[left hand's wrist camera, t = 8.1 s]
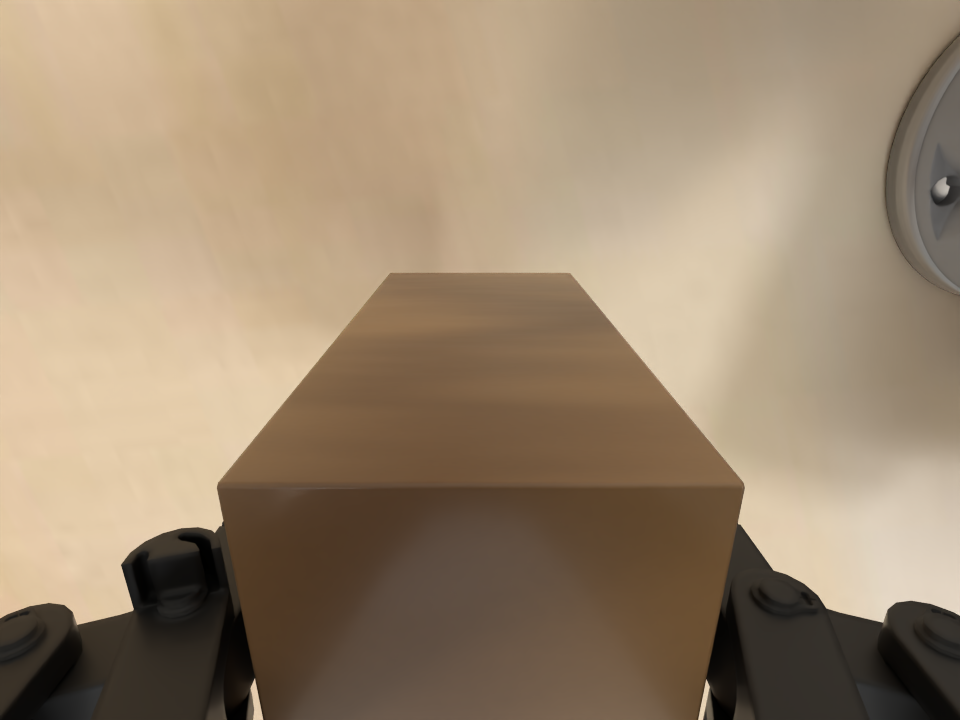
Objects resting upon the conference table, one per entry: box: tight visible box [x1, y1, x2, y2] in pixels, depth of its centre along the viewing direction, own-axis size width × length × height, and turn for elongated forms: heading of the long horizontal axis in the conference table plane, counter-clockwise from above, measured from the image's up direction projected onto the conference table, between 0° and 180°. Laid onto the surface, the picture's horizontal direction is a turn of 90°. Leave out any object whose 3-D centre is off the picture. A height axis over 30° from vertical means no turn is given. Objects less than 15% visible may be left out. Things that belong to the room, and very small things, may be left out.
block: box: [217, 273, 745, 720], centre depth 13 cm, size 6×8×12 cm
